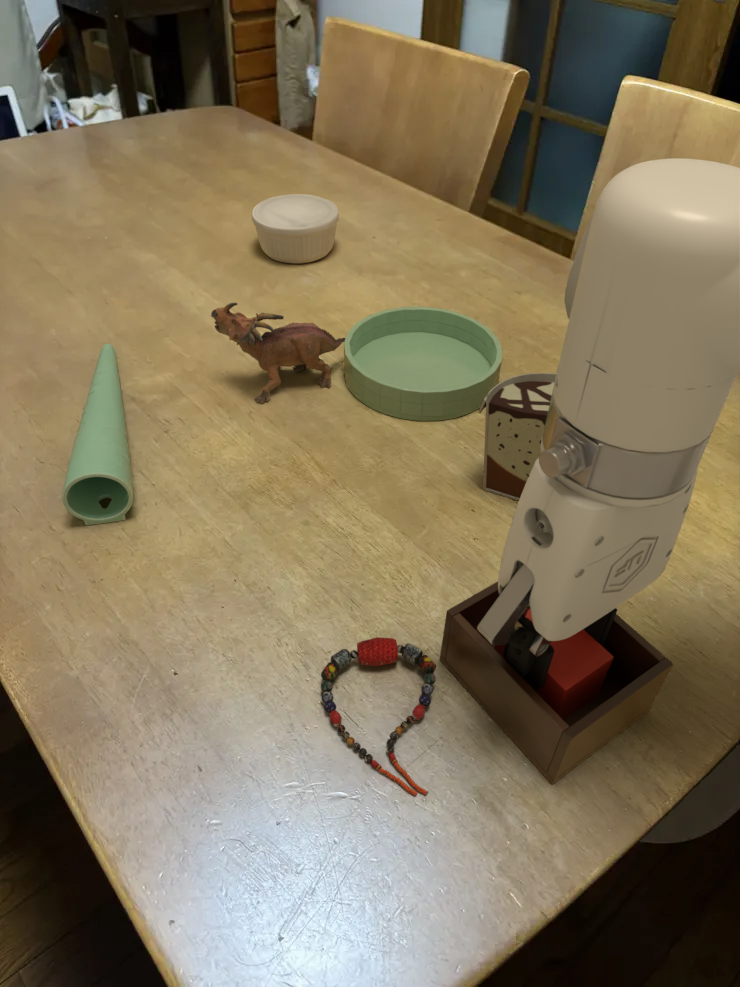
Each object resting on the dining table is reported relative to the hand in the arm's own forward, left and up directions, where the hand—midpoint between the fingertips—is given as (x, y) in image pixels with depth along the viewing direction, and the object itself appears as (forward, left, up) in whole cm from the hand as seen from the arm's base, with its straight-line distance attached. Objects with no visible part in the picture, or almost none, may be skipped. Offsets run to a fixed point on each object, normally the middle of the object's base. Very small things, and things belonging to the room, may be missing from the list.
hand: (553, 650), depth 49 cm
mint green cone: (+41, -21, -4) cm, 47 cm away
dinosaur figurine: (+26, -32, -4) cm, 42 cm away
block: (0, 0, -4) cm, 4 cm away
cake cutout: (0, -21, -4) cm, 21 cm away
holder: (0, 0, -4) cm, 4 cm away
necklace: (+10, +5, -4) cm, 12 cm away
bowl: (+13, -36, -4) cm, 39 cm away
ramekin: (+33, -62, -4) cm, 70 cm away
